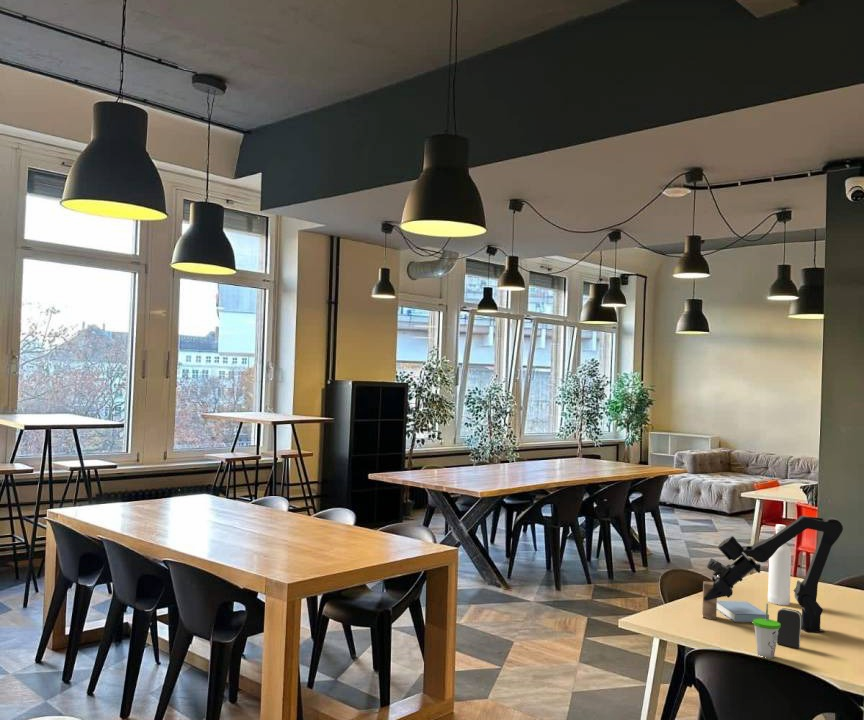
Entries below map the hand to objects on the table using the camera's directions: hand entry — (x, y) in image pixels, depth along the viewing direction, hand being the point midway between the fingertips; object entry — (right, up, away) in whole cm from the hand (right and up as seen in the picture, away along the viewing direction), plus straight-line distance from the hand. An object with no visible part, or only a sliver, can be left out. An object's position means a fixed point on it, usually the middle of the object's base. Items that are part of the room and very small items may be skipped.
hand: (704, 597), depth 277 cm
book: (+14, -7, +3) cm, 16 cm away
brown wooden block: (+1, -7, -1) cm, 7 cm away
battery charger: (+17, -7, -29) cm, 34 cm away
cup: (+4, -6, -41) cm, 41 cm away
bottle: (+37, -9, +24) cm, 45 cm away
